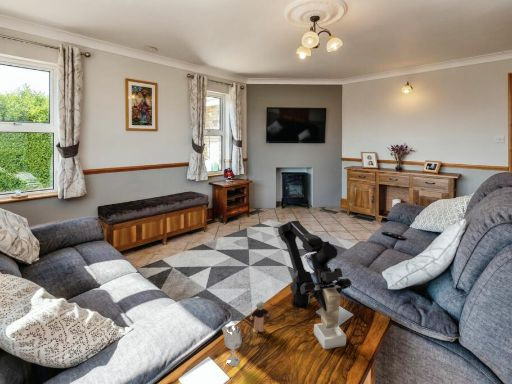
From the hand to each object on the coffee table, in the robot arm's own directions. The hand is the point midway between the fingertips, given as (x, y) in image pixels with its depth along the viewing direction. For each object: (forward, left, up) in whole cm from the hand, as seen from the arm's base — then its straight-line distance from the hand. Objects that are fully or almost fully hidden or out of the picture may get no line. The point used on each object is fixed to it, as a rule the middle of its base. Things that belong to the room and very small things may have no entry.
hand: (332, 310), depth 103 cm
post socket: (0, +2, -13) cm, 14 cm away
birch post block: (-1, +1, -7) cm, 7 cm away
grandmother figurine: (-26, -3, -14) cm, 30 cm away
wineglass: (-29, -21, -14) cm, 39 cm away
